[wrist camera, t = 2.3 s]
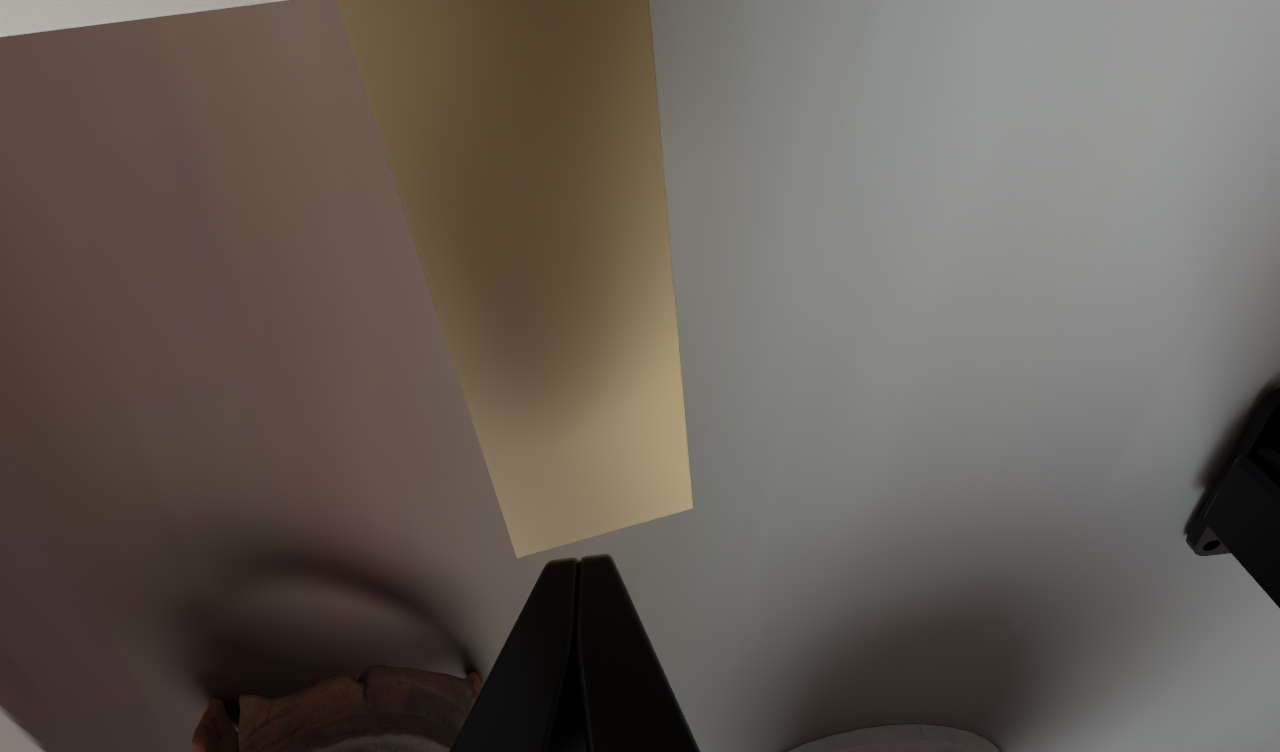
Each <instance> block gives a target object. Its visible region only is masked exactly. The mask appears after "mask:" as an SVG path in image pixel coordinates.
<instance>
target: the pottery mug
mask: <svg viewBox="0 0 1280 752" xmlns="http://www.w3.org/2000/svg"><path fill="white" fill-rule="evenodd" d="M482 687H483V686H482V683H481V680H480V678H479V676H478V675H477V673H476V672H472V673H470V674H469V675H468V676H467V677H466V678H465V679H462V678H459V677H455V676H452V675H448V674H442V673H435V672H430V671H425V670H419V669H412V668H394V667H387V666H383V665H378V666H372V667H369V668H367V669H366V670H365V671H364V672H363V673H362V675H361V676H360V678H359V680H358V681H357V680H356V679H354V678H353V677H352V676H350V675H348V674H340V675H337V676H334V677H330V678H327V679H324V680H322V681H320V682H319V683H317V684H315V685H312V686H310V687H307V688H304V689H302V690H300V691H297V692H295V693H293V694H290V695H286V696H283V697H277V698H266V697H263V696H260V695H257V694H243V695H241V696H240V698H239V703H240V718H239V733H238V732H237V730H236V729H235V728H234V726H233V724H232V722H231V721H230V719H229V718H228V716H227V713H226V710H225V708H224V704H223V701H222V700H220V699H211V701H210V702H209V705H208V708H207V710H206V711H205V713H204V715H203V717H202V719H201V721H200V723H199V725H198V727H197V728H196V730H195V732H194V735H193V739H192V746H193V752H449V751H450V749H451V747H452V745H453V743H454V741H455V740H456V738H457V736H458V734H459V732H460V730H461V728H462V726H463V724H464V722H465V720H466V718H467V716H468V714H469V712H470V710H471V708H472V706H473V705H474V703H475V701H476V699H477V697H478V695H479V693H480V691H481V689H482Z"/></svg>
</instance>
